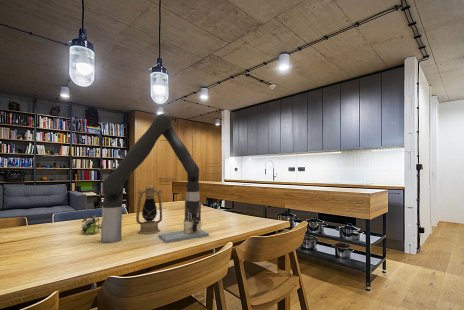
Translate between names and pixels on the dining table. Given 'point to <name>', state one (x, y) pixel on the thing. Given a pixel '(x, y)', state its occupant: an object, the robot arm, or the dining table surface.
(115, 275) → the dining table surface
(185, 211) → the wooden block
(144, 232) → the lantern
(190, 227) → the sanding block
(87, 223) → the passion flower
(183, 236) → the slate board
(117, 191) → the robot arm
